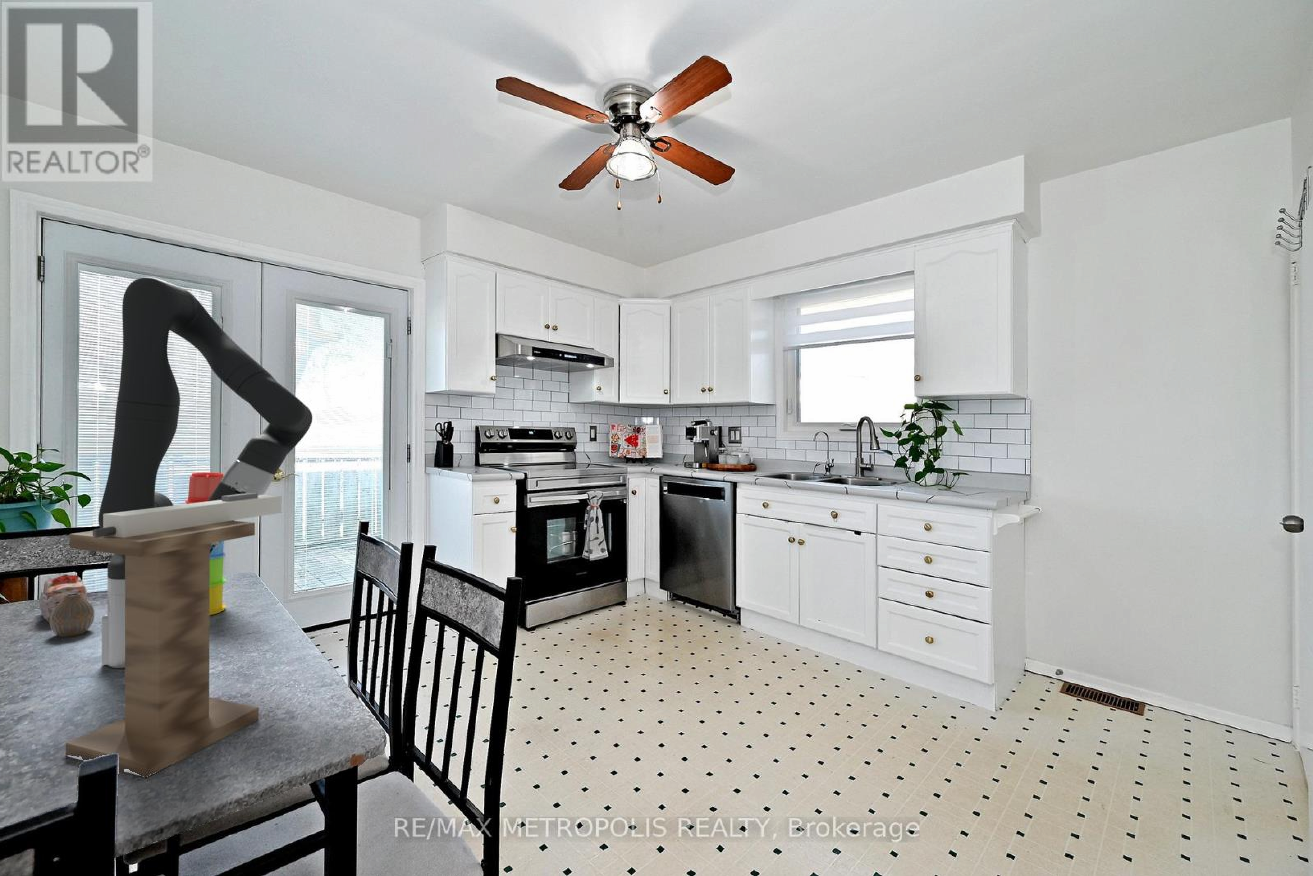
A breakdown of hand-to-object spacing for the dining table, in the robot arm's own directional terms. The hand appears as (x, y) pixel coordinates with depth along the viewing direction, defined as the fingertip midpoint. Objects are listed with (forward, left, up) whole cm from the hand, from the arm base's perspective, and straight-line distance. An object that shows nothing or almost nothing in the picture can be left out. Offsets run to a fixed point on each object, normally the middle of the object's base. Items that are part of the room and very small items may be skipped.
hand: (191, 566), depth 106 cm
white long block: (+14, -17, +11) cm, 24 cm away
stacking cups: (-23, +36, -21) cm, 47 cm away
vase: (-40, +22, -21) cm, 50 cm away
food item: (-53, +33, -21) cm, 66 cm away
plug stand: (+12, -21, -21) cm, 32 cm away
